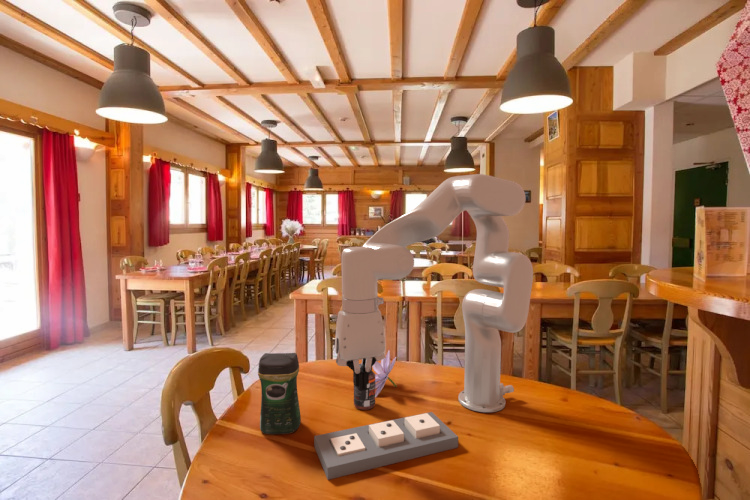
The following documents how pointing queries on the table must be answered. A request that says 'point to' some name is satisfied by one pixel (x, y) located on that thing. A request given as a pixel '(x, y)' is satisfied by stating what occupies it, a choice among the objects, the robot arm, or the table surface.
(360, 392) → the supplement bottle
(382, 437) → the tile
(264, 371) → the coffee jar
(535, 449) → the table surface
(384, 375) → the water lily
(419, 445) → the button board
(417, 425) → the tile
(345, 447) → the tile
